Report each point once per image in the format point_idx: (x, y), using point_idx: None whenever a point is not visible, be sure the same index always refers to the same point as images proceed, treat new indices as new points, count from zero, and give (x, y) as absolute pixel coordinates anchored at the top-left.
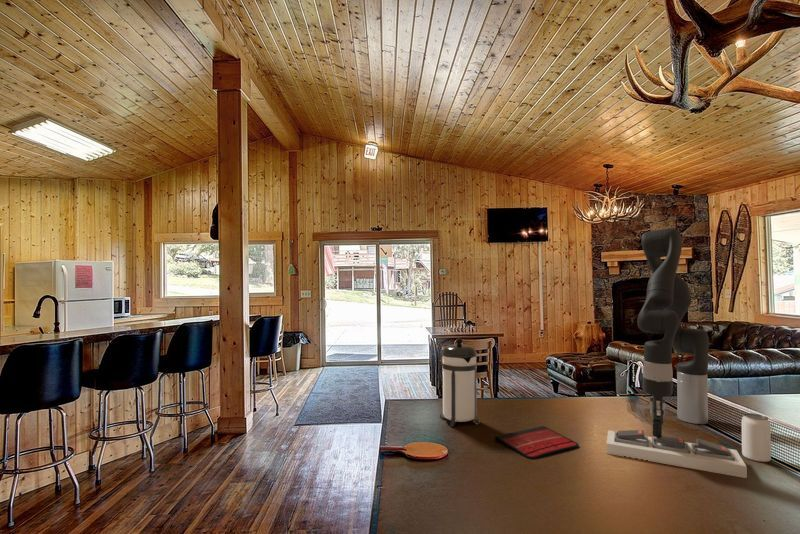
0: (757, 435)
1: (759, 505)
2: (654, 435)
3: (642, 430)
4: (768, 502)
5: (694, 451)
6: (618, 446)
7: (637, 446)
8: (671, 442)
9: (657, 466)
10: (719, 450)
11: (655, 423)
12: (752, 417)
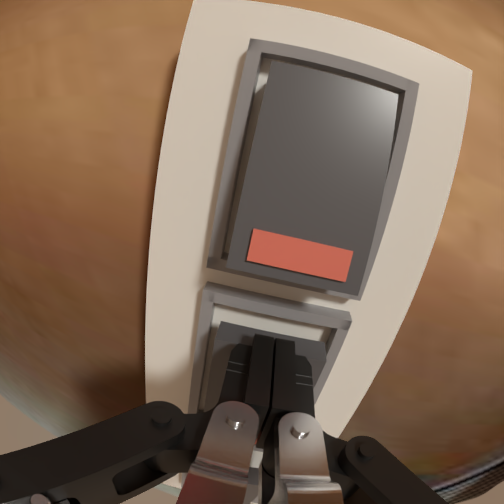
0: None
1: (29, 395)
2: (253, 341)
3: (345, 285)
4: (52, 418)
5: None
6: (179, 64)
7: (194, 186)
8: (206, 392)
9: (123, 247)
10: None
11: (185, 417)
12: None
